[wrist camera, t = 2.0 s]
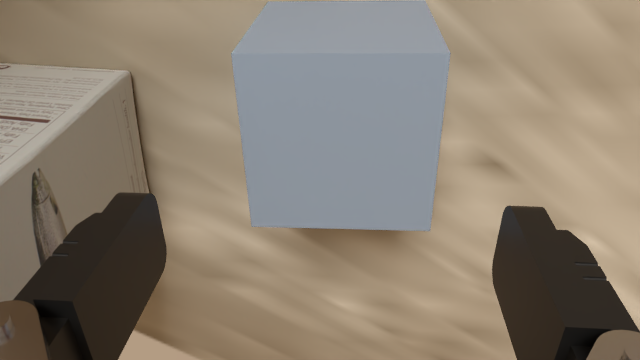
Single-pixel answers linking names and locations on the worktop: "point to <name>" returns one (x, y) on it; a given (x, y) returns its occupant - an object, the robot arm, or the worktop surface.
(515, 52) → the worktop surface
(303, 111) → the blue block
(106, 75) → the supplement box
